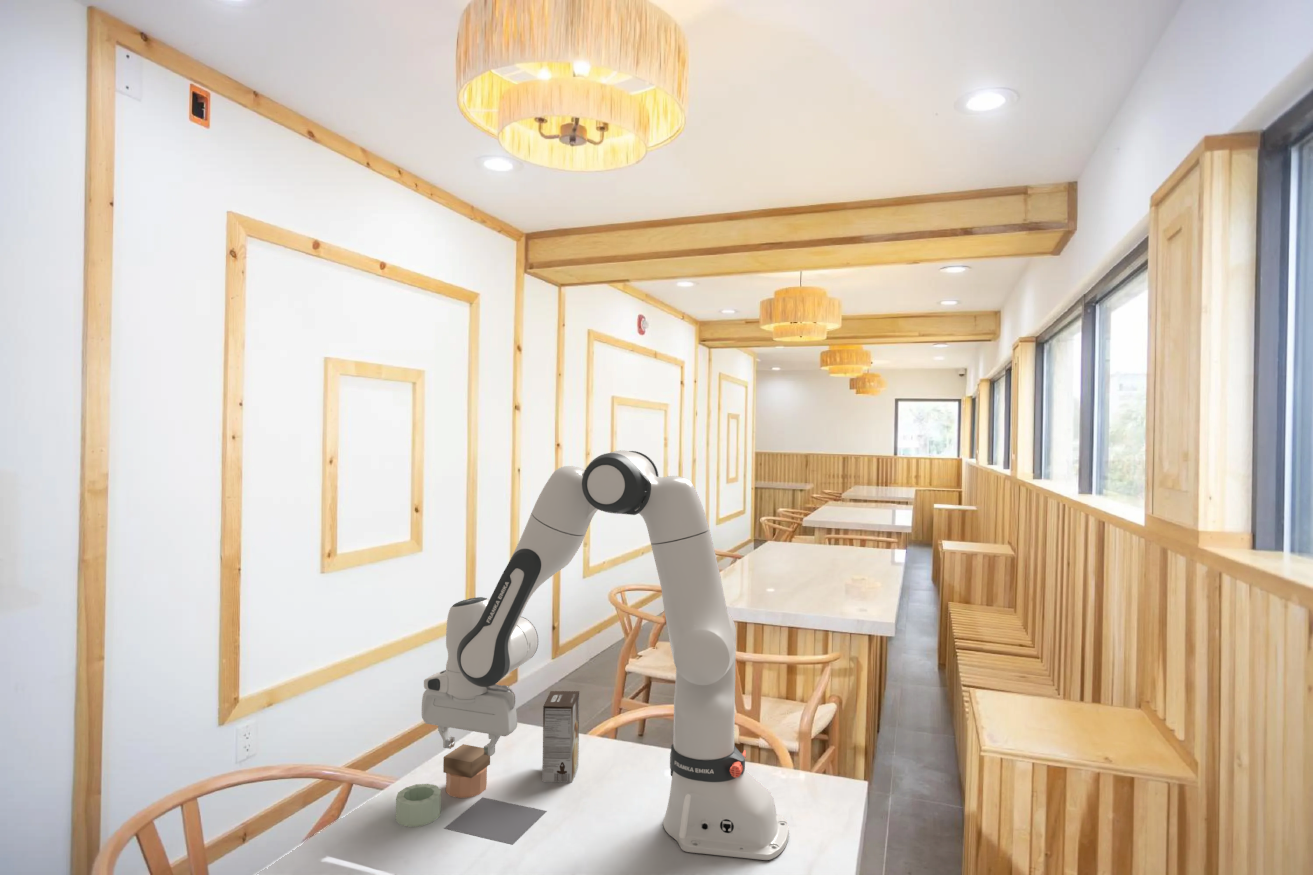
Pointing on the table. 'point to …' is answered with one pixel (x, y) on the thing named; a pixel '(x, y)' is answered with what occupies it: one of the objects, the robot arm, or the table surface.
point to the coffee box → (560, 736)
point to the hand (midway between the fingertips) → (469, 750)
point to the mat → (496, 820)
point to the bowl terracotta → (466, 784)
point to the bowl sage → (418, 805)
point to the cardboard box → (466, 761)
